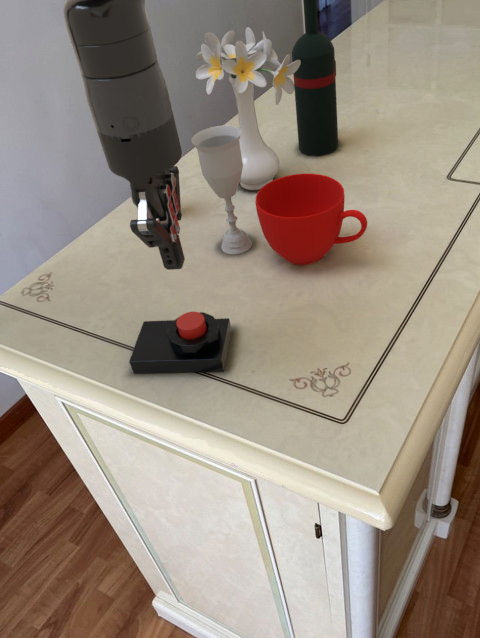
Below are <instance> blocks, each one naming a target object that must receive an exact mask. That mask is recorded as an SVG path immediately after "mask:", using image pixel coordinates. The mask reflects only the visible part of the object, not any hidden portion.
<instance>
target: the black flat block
mask: <svg viewBox="0 0 480 638" xmlns="http://www.w3.org/2000/svg"><path fill="white" fill-rule="evenodd" d="M199 313H201V314H202V315H203V316H204V319H205V323H206V327H207V330H206V332H205V334H204V335H203V336H201V337H199V338H196V339H190V340H186V339H184V338H182V337H181V336H180V334H179V331H178V328H177V324H176V322H177V319H178V318H179V317H180V316H178V317H177V318H175V319H171V320H167V319H166V320H144V321H143V322H142V325H141V328H140V329H139V330H140V331H139V332H138V335H137V339H136V341H135V345H134V347H133V350H132V352H131V356H130V359H129V361H128V363H129V365H130V368H131V370H132V372H133V374H176V373H177V374H178V373H182V374H183V373H215V372H216V373H217V372H220V373H222V372H225V369H226V368H225V367H226V363H227V358H228V352H229V348H230V342H231V337H232V332H233V328H232V325H231V320H230V318H229V317H228V318H227V317H226V318H215V316H213V315H211V314H208V313H206V312H203V311H201V312H199Z"/></svg>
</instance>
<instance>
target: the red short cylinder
mask: <svg viewBox="0 0 480 638" xmlns="http://www.w3.org/2000/svg"><path fill="white" fill-rule="evenodd" d="M178 317H179V318H178ZM178 317H177V318H178V319H177V318H176V319H177V322H176V324H177V328H178V331H179V334H180V336H181V337H182V338H184V339H186V340H190V339H196V338H199V337H201V336H203V335H204V334H205V332H206V330H207V327H206V323H205V319H204V316H203V315H202V314H201V313H199V312H198V311H188V312H184V313H183V314H181V315H180V316H178Z"/></svg>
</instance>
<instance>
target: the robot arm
mask: <svg viewBox="0 0 480 638" xmlns="http://www.w3.org/2000/svg"><path fill="white" fill-rule="evenodd" d="M62 11H63V12H62V13H63V20H64V24H65V28H66V32H67V34H68V38H69V41H70V44H71V48H72V50H73V53H74V56H75V60H76V63H77V66H78V69H79V72H80V75H81V78H82V83H83V89H84V94H85V99H86V102H87V106H88V108H89V112H90V114H91V118H92V120H93V123H94V126H95V129H96V130H95V131H96V133H97V136H98V139H99V142H100V144H101V148H102V151H103V154H104V157H105V161H106V163H107V167H108V169H109V170H110V171H111V173H113V174H114V175H116V176H117V177H122V178H123V179H125V180H126V181H128V182H129V184H130V185H129V186H130V187H129V188H130V189H129V194H130V198H131V201H132V204H133V205H134V206H136V208H137V209H136V210H137V218H136V219H131V220H130V222H129V227H130V230H131V232H132V233H133V234H134V235H135V236H136V237H137V238H139V240H141V241H142V242H143V244H145V245H146V246H147V247H148V248H149V249H150V248H158V251H159V255H160V257H161V260H162V261H161V262H162V264H163V267H164V269H165V270H170V271H171V270H181V269H182V268H183V266H184V263H185V261H186V259H185V253H184V250H183V246H182V242H181V239H180V230H181V226H180V224H179V222H180V221H181V220H182V215H183V214H182V205H181V203H182V202H181V189H180V187H181V186H180V170H179V167H178V165H177V164H178V163H179V162H180V160H181V158H182V156H183V155H182V154H183V150H182V145H181V142H180V141H181V140H180V137H179V133H178V128H177V125H176V124H177V123H176V120H175V119H176V118H175V115H174V111H173V107H172V102H171V98H170V94H169V90H168V86H167V82H166V79H165V76H164V74H163V72H162V68H161V66H160V62H159V58H158V54H157V49H156V45H155V42H154V37H153V33H152V28H151V25H150V21H149V17H148V16H149V15H148V13H147V10H146V0H65V2H64V5H63V10H62Z"/></svg>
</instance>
